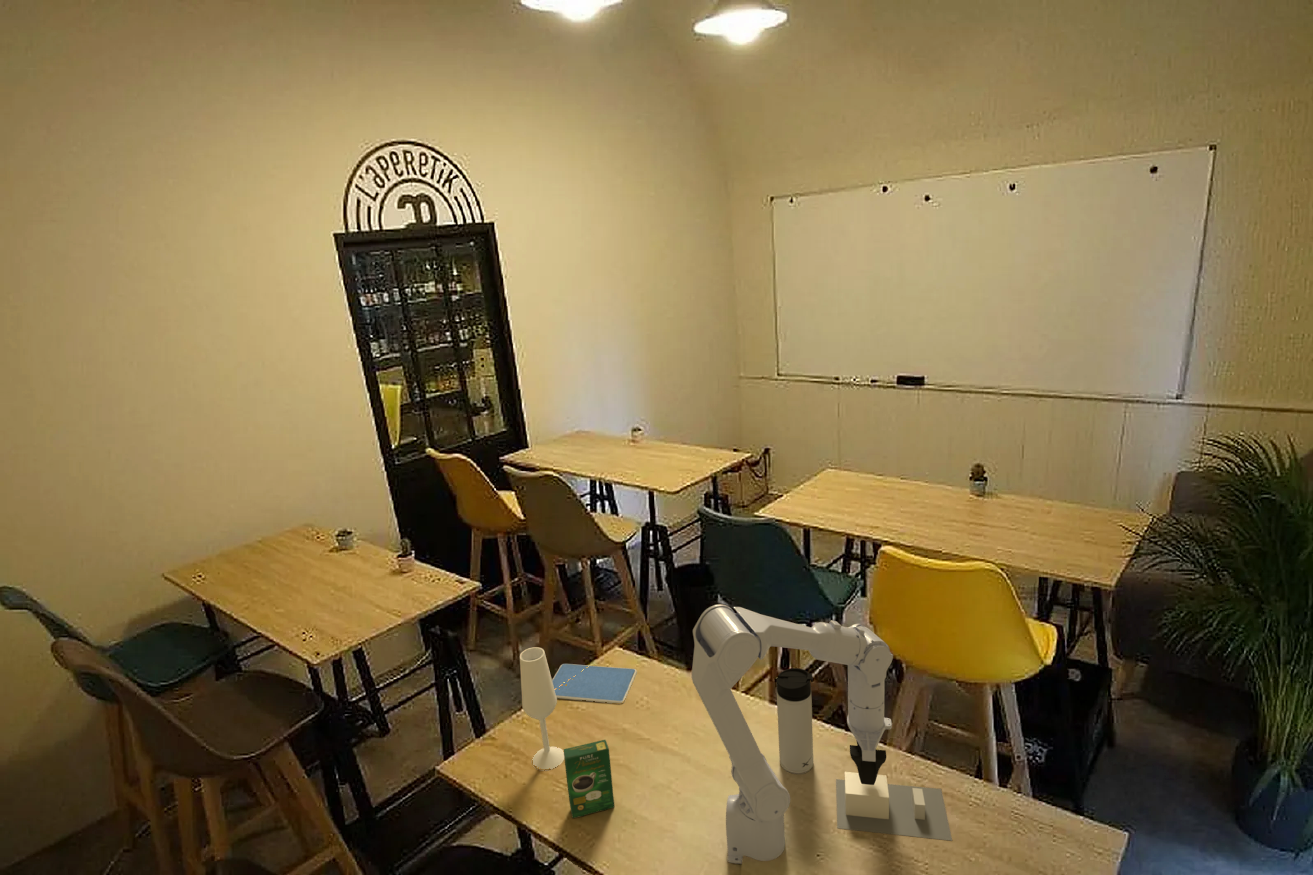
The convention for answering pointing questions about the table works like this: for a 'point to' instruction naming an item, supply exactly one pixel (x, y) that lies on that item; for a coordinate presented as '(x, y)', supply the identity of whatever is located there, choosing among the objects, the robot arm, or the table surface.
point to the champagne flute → (539, 702)
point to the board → (901, 813)
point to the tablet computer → (593, 683)
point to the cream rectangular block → (866, 797)
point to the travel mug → (795, 720)
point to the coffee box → (589, 778)
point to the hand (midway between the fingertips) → (866, 766)
